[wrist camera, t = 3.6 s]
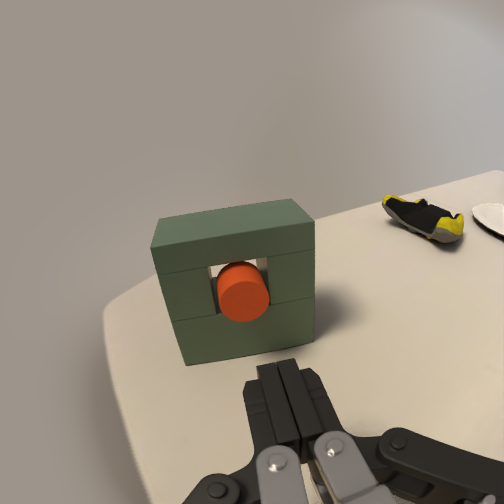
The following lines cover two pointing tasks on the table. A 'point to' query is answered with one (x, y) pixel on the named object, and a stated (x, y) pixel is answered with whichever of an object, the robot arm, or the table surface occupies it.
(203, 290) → the block
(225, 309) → the push knob
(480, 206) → the plate
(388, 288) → the table surface
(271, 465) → the robot arm
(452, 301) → the table surface
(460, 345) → the table surface
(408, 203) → the toy running shoe
